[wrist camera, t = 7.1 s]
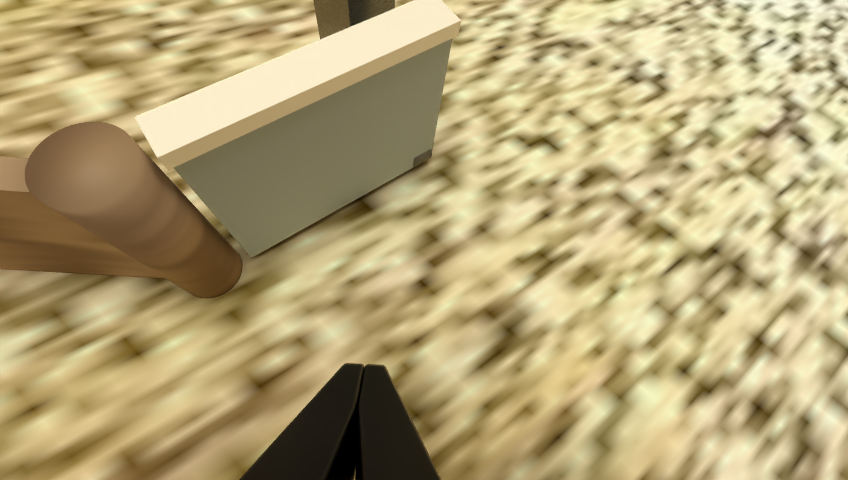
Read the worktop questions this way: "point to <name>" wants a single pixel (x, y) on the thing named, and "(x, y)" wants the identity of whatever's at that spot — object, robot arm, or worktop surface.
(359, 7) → the stile
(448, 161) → the worktop surface
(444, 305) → the worktop surface
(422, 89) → the cream flat slab
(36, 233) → the fence
